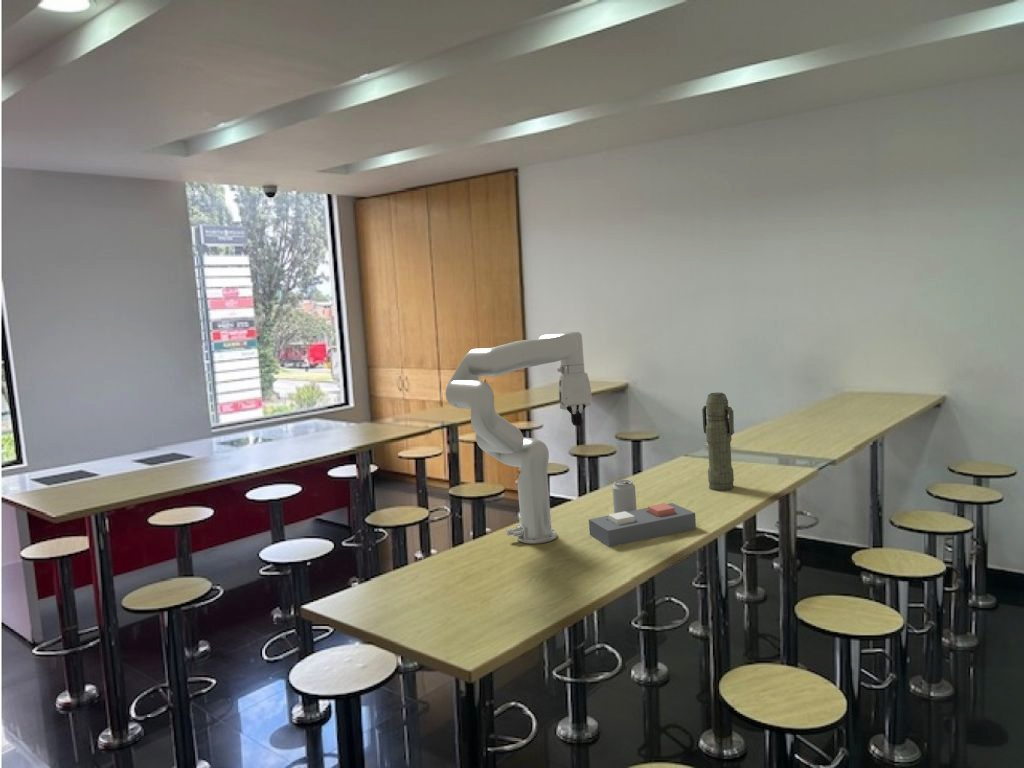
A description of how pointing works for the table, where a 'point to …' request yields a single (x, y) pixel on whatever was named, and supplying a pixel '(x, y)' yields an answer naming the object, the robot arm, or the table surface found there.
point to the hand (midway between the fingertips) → (576, 425)
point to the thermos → (719, 441)
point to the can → (624, 496)
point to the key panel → (641, 526)
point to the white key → (621, 518)
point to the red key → (661, 510)
